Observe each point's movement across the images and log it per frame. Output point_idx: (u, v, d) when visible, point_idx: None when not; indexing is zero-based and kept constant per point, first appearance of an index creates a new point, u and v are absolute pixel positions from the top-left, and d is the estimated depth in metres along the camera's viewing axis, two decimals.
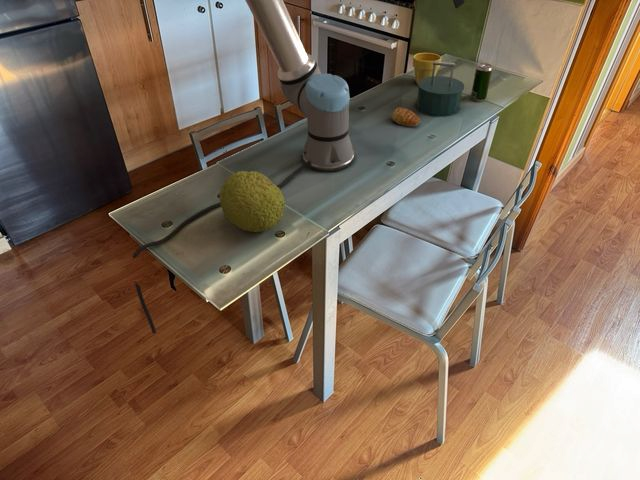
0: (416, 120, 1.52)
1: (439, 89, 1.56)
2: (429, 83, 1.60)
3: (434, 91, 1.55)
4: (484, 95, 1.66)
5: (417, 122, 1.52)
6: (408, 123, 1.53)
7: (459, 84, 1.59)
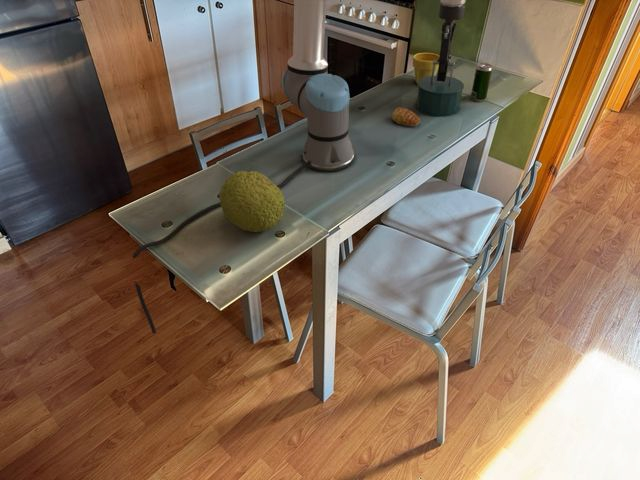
0: (416, 120, 1.52)
1: (439, 88, 1.56)
2: (429, 82, 1.60)
3: (434, 90, 1.55)
4: (484, 95, 1.66)
5: (417, 122, 1.52)
6: (408, 123, 1.53)
7: (459, 83, 1.59)
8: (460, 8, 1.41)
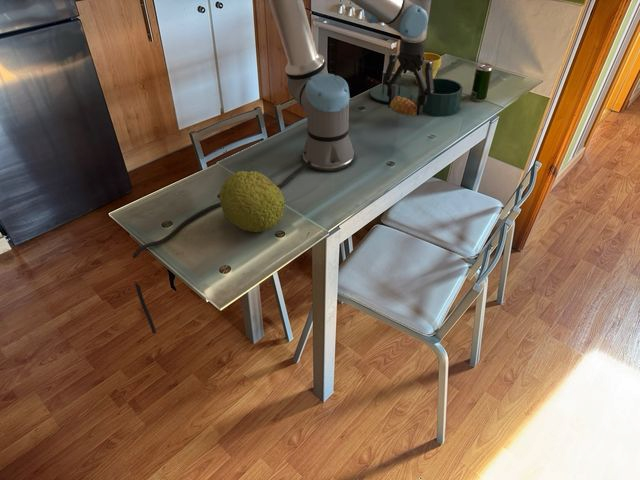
0: (414, 109, 1.50)
1: None
2: (380, 91, 1.73)
3: (383, 99, 1.68)
4: (484, 95, 1.66)
5: (415, 111, 1.50)
6: (406, 112, 1.50)
7: (408, 92, 1.72)
8: None
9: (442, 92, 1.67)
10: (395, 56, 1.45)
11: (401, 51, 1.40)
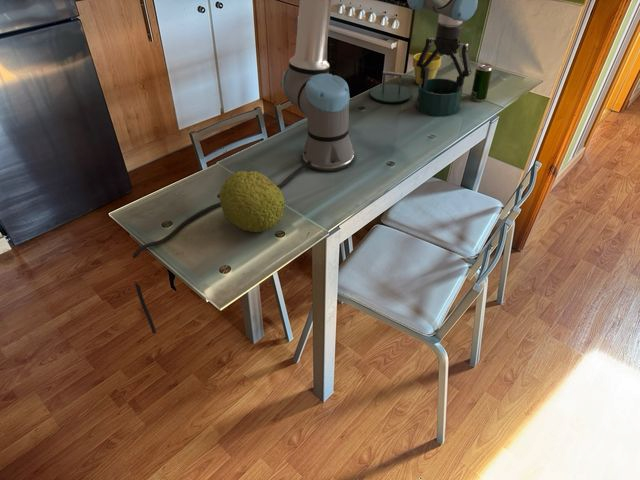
0: None
1: (388, 96, 1.69)
2: (380, 91, 1.73)
3: (383, 99, 1.68)
4: (484, 95, 1.66)
5: None
6: None
7: (408, 92, 1.72)
8: None
9: (442, 92, 1.67)
10: (432, 40, 1.52)
11: (438, 35, 1.47)
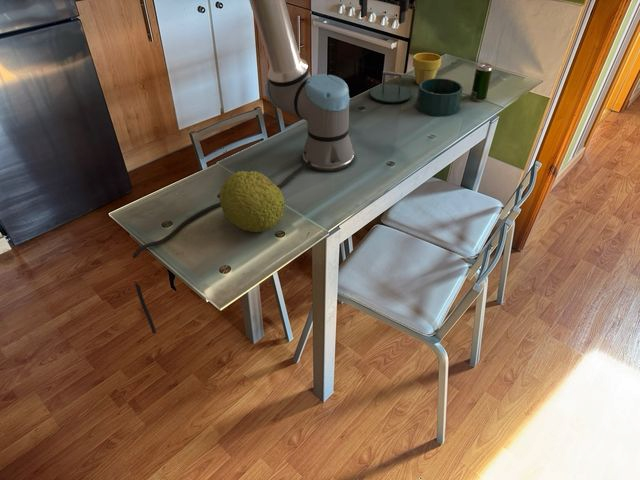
0: None
1: (388, 96, 1.69)
2: (380, 91, 1.73)
3: (383, 99, 1.68)
4: (484, 95, 1.66)
5: None
6: None
7: (408, 92, 1.72)
8: None
9: (442, 92, 1.67)
10: None
11: None
